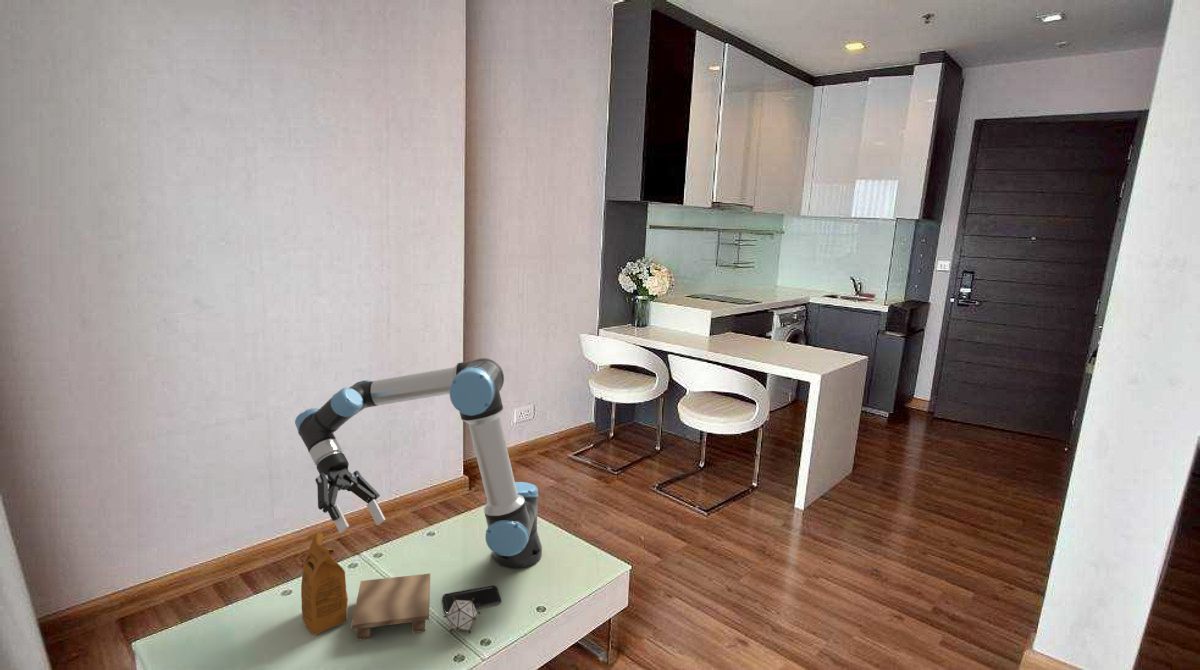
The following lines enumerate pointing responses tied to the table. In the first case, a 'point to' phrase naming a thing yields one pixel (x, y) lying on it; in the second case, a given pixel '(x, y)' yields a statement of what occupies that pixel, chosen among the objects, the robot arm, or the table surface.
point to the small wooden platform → (392, 603)
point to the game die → (461, 615)
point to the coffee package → (322, 589)
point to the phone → (480, 595)
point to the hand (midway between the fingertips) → (363, 526)
